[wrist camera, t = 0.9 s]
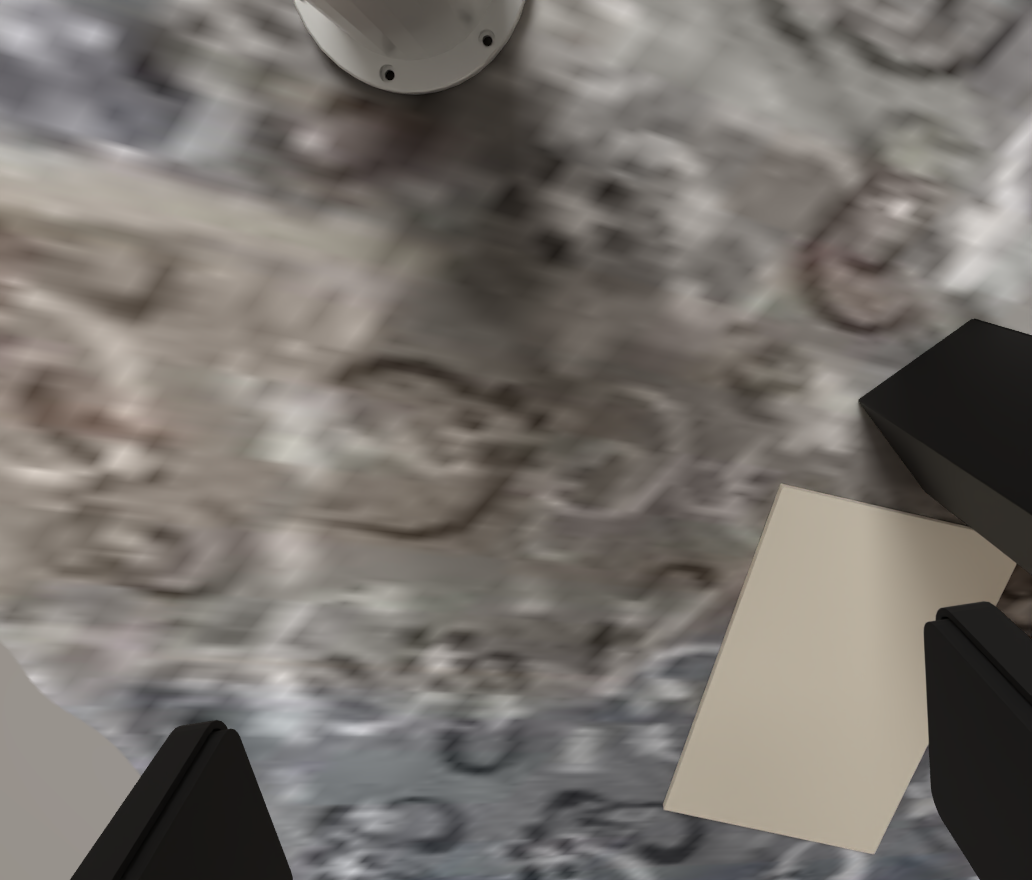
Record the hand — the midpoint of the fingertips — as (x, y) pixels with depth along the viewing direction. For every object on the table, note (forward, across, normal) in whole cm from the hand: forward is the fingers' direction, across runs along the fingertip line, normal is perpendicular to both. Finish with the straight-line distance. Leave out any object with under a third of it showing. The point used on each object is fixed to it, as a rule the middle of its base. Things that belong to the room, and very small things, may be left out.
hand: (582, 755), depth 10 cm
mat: (+36, -14, +28) cm, 48 cm away
